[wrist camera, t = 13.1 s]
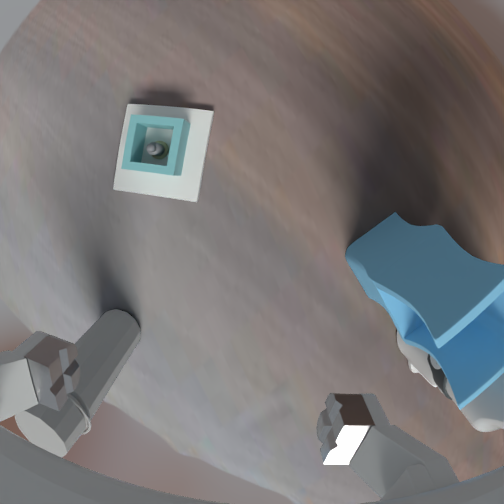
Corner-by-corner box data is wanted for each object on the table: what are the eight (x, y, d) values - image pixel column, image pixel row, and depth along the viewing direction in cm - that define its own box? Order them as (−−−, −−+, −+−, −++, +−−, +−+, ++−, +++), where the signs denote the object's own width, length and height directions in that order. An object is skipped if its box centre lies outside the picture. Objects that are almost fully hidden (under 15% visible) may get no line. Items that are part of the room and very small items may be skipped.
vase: (340, 251, 42) (433, 340, 17) (395, 211, 40) (524, 255, 16) (371, 303, 43) (459, 411, 19) (422, 266, 42) (535, 340, 18)
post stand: (214, 112, 37) (208, 103, 32) (198, 201, 40) (190, 205, 35) (130, 105, 37) (115, 97, 32) (116, 189, 40) (99, 191, 35)
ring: (190, 124, 37) (183, 118, 33) (181, 175, 38) (173, 175, 34) (142, 119, 36) (131, 114, 32) (133, 169, 38) (121, 168, 34)
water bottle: (106, 297, 43) (8, 392, 19) (150, 321, 44) (77, 439, 20) (93, 340, 45) (13, 438, 21) (134, 363, 46) (71, 476, 22)
